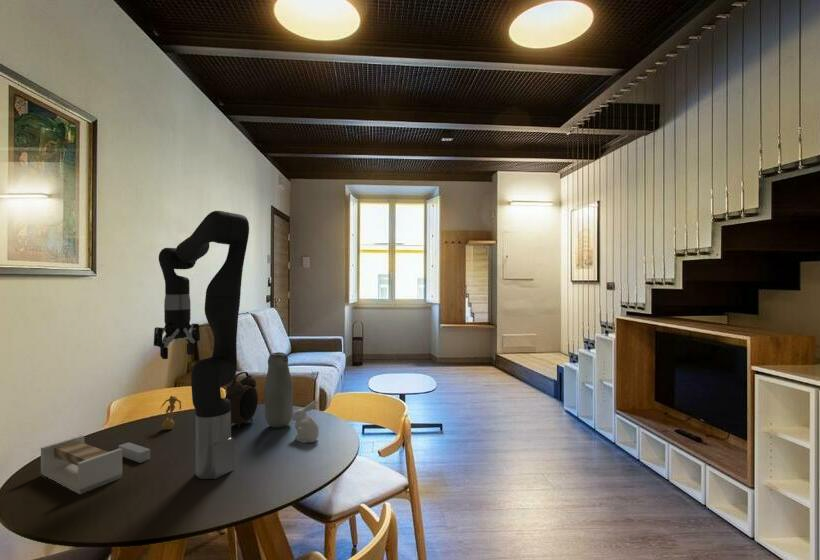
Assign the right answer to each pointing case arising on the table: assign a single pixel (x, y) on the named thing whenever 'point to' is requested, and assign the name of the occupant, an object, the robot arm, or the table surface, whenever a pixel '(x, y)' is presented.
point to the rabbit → (305, 424)
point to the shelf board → (77, 452)
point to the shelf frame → (81, 468)
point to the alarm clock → (242, 399)
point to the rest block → (135, 452)
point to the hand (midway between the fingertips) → (177, 356)
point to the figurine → (168, 422)
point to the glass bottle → (278, 391)
